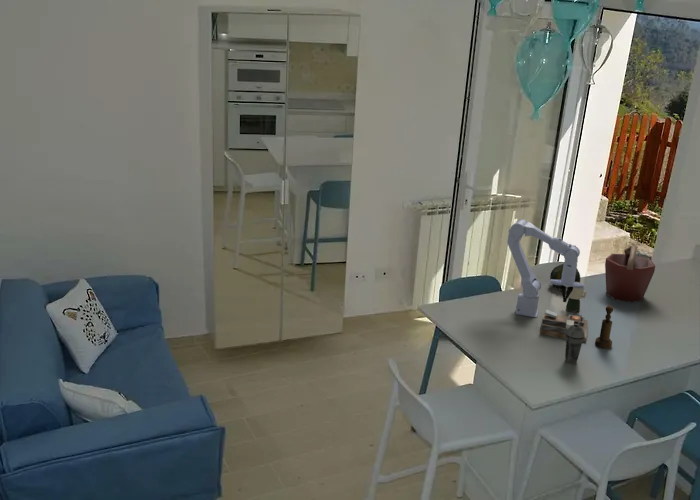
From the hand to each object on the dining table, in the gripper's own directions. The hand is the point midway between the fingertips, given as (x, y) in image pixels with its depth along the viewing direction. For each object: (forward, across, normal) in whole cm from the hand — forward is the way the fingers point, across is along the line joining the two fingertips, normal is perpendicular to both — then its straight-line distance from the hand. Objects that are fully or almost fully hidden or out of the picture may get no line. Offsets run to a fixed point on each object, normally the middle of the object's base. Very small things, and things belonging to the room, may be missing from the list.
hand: (564, 301), depth 309 cm
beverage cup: (+10, +6, -40) cm, 42 cm away
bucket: (+10, +28, +46) cm, 55 cm away
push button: (+7, +6, -3) cm, 10 cm away
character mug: (+10, +4, +15) cm, 18 cm away
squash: (+10, -2, +43) cm, 44 cm away
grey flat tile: (+6, -5, -2) cm, 8 cm away
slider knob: (+7, +4, -14) cm, 17 cm away
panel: (+9, +2, -9) cm, 13 cm away
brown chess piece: (+10, +18, -19) cm, 28 cm away
